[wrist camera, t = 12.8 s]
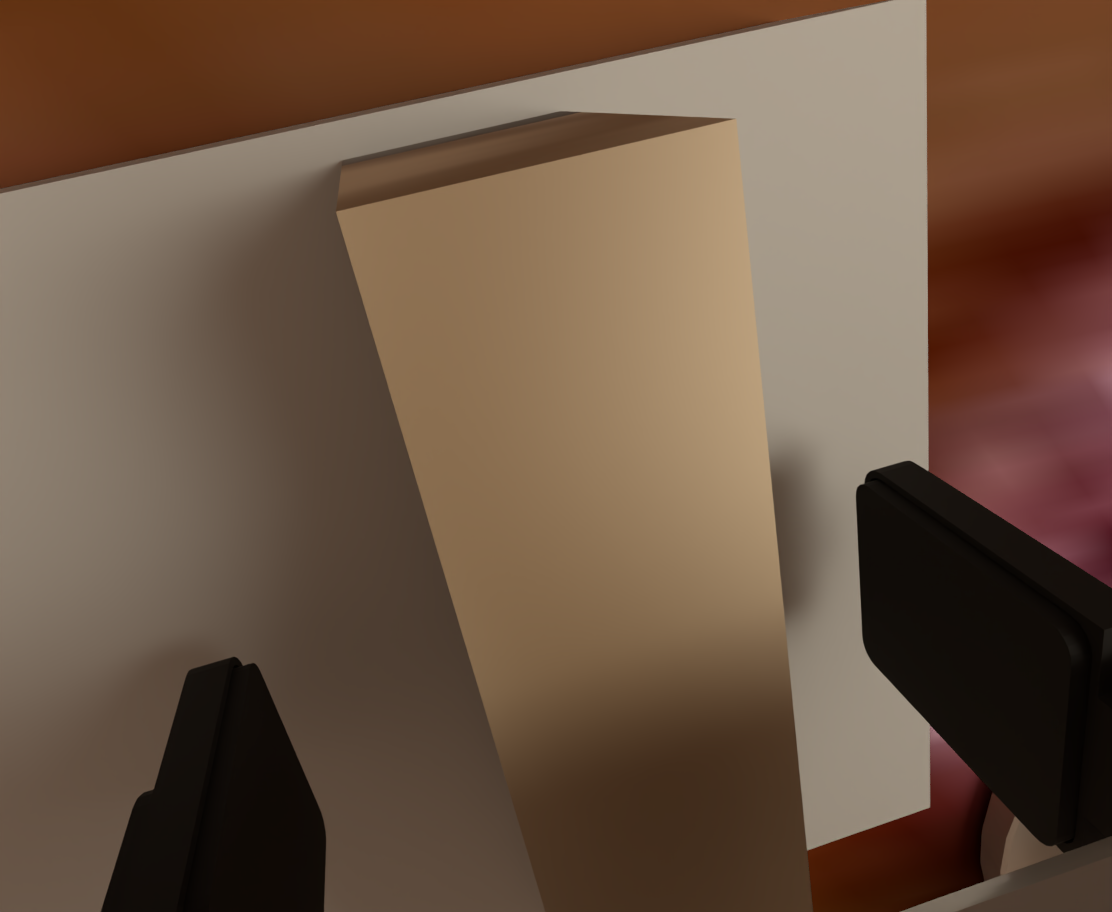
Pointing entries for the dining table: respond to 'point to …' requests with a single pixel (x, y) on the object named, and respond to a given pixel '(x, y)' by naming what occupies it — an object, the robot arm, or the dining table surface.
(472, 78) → the dining table surface
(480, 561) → the tan long block
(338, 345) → the bench board
